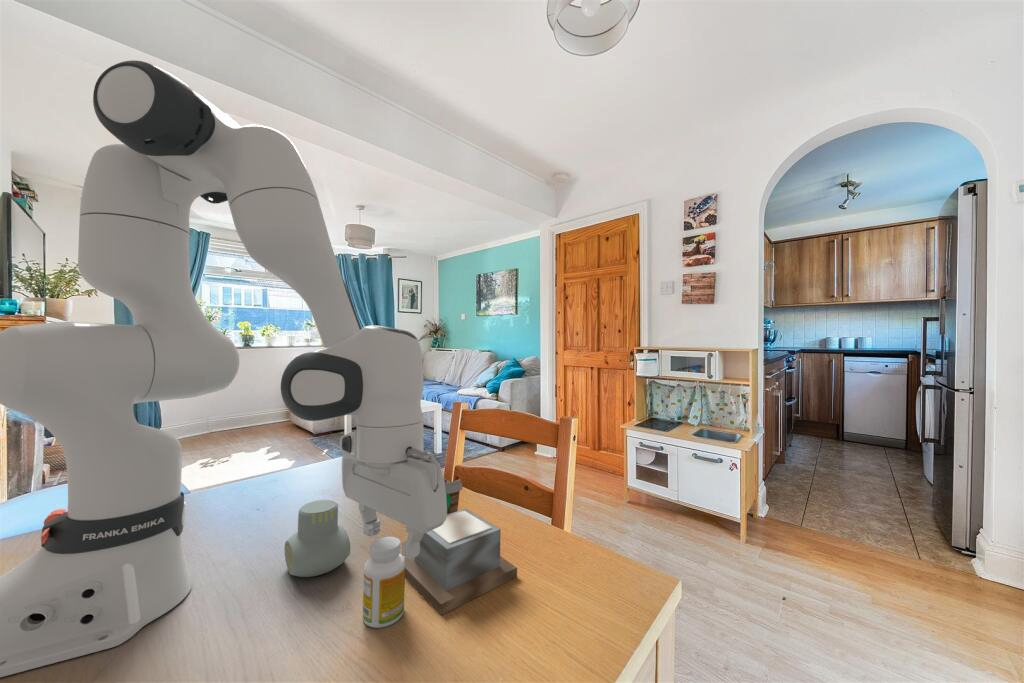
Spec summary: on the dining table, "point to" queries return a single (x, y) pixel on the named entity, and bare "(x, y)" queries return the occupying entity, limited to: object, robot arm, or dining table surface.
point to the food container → (452, 495)
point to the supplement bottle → (383, 583)
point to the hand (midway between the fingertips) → (390, 544)
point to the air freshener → (317, 541)
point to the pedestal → (458, 562)
